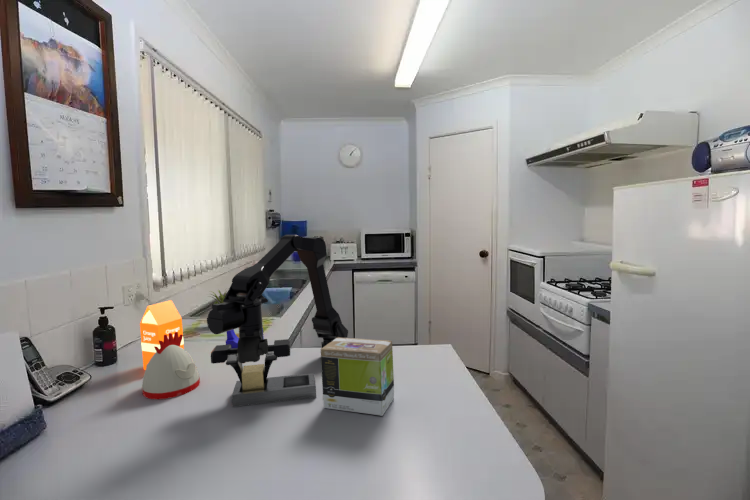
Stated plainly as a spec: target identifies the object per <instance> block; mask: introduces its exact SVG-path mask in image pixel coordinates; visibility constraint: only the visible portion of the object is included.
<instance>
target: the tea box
mask: <svg viewBox="0 0 750 500" xmlns="http://www.w3.org/2000/svg"><path fill="white" fill-rule="evenodd" d="M393 351H394V350H393V340H388V339H387V340H386V339H385V340H384V339H371V338H357V337H356V338H355V337H353V338H352V337H351V338H350V337H347V338H340V337H337V338H336V339H334V340H333V341H332V342H330V343H329V344H327V345H326V346H324V347H323V348H321V347H320V360H321V361H320V363H321V364H320V365H321V384H322V385H321V387H322V401H323V402H322V404H323V408H324V409H330V410H337V411H338V410H339V411H345V412H350V413H351V412H353V413H360V414H367V415H375V416H381V417H382V416H384V414H385V412H386V411H387V410H388V408H389V407H390V405H391V403H392V402H393V401H394V399H395V398H394V397H395V382H394V381H395V378H394V377H395V374H394V356H393V355H394V354H393Z"/></svg>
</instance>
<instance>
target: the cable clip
mask: <svg viewBox="0 0 750 500" xmlns="http://www.w3.org/2000/svg"><path fill="white" fill-rule="evenodd" d="M264 337H265V336H264V335H263V339H265V338H264ZM238 340H239V336H237V334H236V333H235V329H233V330H230V331H227V332H226V340H225V345H228V344H230V345H231V348H238Z"/></svg>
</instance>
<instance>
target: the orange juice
mask: <svg viewBox="0 0 750 500" xmlns="http://www.w3.org/2000/svg"><path fill="white" fill-rule="evenodd" d="M182 319H183V318H182V316H181V314H180V312H179V310H178V309H177V307H176V306H175V303H174V302H173V300H172V299H169V300H166V301H162V302H159V303H154V304H151V305H147V306H146V309H145V311H144V313H143V316H142V317H141V320H140V322H139V330H140V342H141V343H140V344H141V353H142V366H143V370H144V371H145V370H146V365H147V364H148V363H149V361H150V359H151V358H152V357H153V355H154V354H155V353H156V350H155V348H154V346H155V347H158V348H159V349H160V344H159V340H160V341H163V342H164V335H167V337H168V339H169V333H172V336H173V339H174V334H175V332H178V337H179V336H180V334H181V335H183V337H182V341H181V344H180V347H181V348H183V349H184V350H185V345H184V344H185V341H184V331H183V320H182Z"/></svg>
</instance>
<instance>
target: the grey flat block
mask: <svg viewBox="0 0 750 500" xmlns="http://www.w3.org/2000/svg"><path fill="white" fill-rule="evenodd" d="M315 377H316V376H315V372H312V373H311V372H310V373H302V374H301V373H300V374H292V375H291V374H290V375H283V376H281V375H280V376H273V377H270V376H269V377H267V380H266V383H265V387H264V390H258V391H249V392H243V387H242V384H241V382H240V380H237V381H236V382H235V385H234V387H233V391H232V394H231V403H232V408H237V407H245V406H254V405H264V404H271V403H280V402H289V401H296V400H305V399H316V398H317V384H316V378H315Z"/></svg>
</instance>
